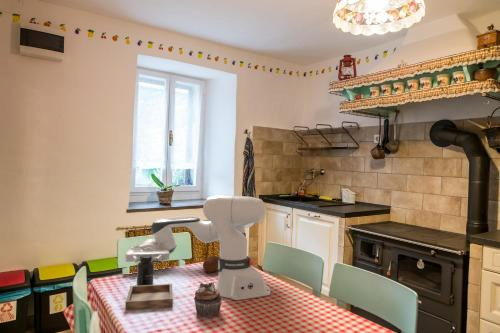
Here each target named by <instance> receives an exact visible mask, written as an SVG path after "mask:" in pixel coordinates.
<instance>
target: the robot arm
mask: <svg viewBox="0 0 500 333" xmlns="http://www.w3.org/2000/svg"><path fill="white" fill-rule="evenodd" d="M266 207H267V206H266V204H265V202H264V201H263V199H262V198H257V197H253V196H241V195H221V194H220V195H214V196H209V197H208V198H206V199H205V201H204V203H203V208H202V212H203V215H204V218H206V220H202V219H200V218H199V217H179V218H169V219H168V218H160V219H157V220H155V221H153V222H152V225H151V226H150V232H151V234H152V236H153V238H148V239H145V240H144V241H143V242H142V244H141V245H135V246H131V247H130V249H129V250H127V251H126V252H125V255H124V260H125V262H127V263H129V262H134V263H139V262H140V256H142V255H151V256H152V261H151V262H154V261H155V262H160V261H168V260H170V255H171V254H172V253H173V252H174V251H175V250H176V248H177V241H176V239H175V237H174V233H173V230H172V228H181V227H186V228H187V229H189V230H190V231H191V232H192V234H194V236H195V237H196V239H197V240H199V241H200V242H202V243H205V244H208V243H214V242H217V241H219V256H218V258H219V260H218V270H217V271H218V276H217V282H216V285H215V289H217V290H218V291H219V293H220V296H221V298H227V299H231V300H233V301H243V300H246V299H253V298H260V297H266V296H270V295H271V288H270V287H269V286H268V285H267V284H266V282H265V278H264V275H263V274H262V273H261V272H260V271H258V270H257V269H256V268H255V267H254V266H253V265H255V263H256V261H255V260H254V259H252V258H251V257H249V256H248V238H247V233H246V229H248V228H251V227H253V225H254V224H260V223H261V222H262V221H263V220H264V219H265V217H266V214H267V208H266Z"/></svg>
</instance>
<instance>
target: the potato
mask: <svg viewBox="0 0 500 333" xmlns="http://www.w3.org/2000/svg"><path fill="white" fill-rule="evenodd" d="M218 260H219V256H215V255H211V256H208V257H206V259H204V261H203V263H202V267H203V270H204V271H205V272H206V273H208V274H210V273H214V272H216V271H219V270H218Z"/></svg>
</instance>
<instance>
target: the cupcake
mask: <svg viewBox="0 0 500 333" xmlns="http://www.w3.org/2000/svg"><path fill="white" fill-rule="evenodd" d="M198 287H199V288H197V290H195V293H194V298H193V300H194V305H195V312H196V315H197V316H199V317H200V318H208V319H209V318H214V317H218V316H219V314H220V312H221V307H222V302H223V297H222V296H220V293H219V291H218V290H217V289H216V284H215V282H212V281H211V282H210V283H202V282H201V283H200V285H199V286H198Z"/></svg>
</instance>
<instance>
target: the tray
mask: <svg viewBox="0 0 500 333" xmlns="http://www.w3.org/2000/svg"><path fill="white" fill-rule="evenodd" d="M173 296H174V294H173V283H163V284H160V283H159V284H152V285H140V286H138V285H130V286H129V290H128V294H127V297H126V298H125V311H137V310H138V311H139V310H147V309H148V310H149V309H153V310H154V309H164V308H173V304H174V303H173Z"/></svg>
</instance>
